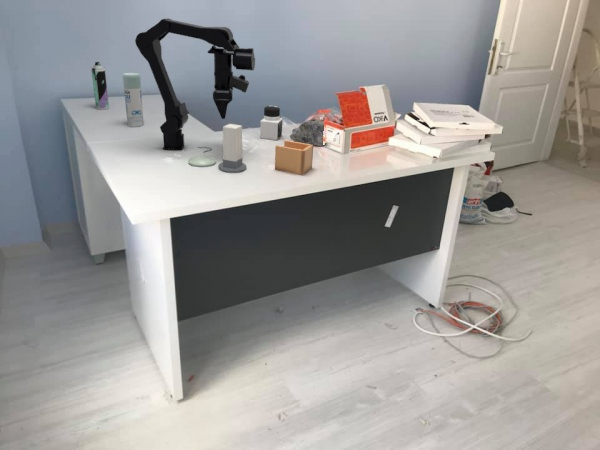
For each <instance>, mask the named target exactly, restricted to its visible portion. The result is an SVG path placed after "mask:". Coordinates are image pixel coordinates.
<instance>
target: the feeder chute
mask: <svg viewBox="0 0 600 450" xmlns="http://www.w3.org/2000/svg"><path fill="white" fill-rule="evenodd" d="M274 150H275V151H274V152H275V155H274V171H280V172H285V173H289V174H295V175H299V176H305V174H307V173H308V172H309V171H310V170H312V168H313V159H314V144H305V143H300V142H297V141H295V140H292V141H291V140H287V139H285V140H284V144H283V146H282V145H275V149H274Z"/></svg>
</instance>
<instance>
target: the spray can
mask: <svg viewBox="0 0 600 450" xmlns="http://www.w3.org/2000/svg"><path fill="white" fill-rule="evenodd" d="M90 71H91V78H92V85H93V93H94V103H95V108H96V110H100V111H101V110H103V111H104V110H109V109H110V105H109V103H110V102H109V96H108V86H107V85H108V84H107V78H106V77H107V76H106V69H105V67H104V66H102V64H101V63H100V61H95V63H94V65H93V66H92V67H91V70H90Z"/></svg>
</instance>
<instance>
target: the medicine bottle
mask: <svg viewBox="0 0 600 450" xmlns="http://www.w3.org/2000/svg"><path fill="white" fill-rule="evenodd" d="M280 114H281V108H280V107H278V106H277V105H276V106H275V105H268V106H265V107H264V108H263V118H262V119H261V120H260V128H259V129H260V130H259V131H260V134H259V137H260V139H264V140H273V141H279V139H280V138H282V135H283V118H281V117H280V116H281V115H280Z"/></svg>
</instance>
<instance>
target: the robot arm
mask: <svg viewBox="0 0 600 450" xmlns="http://www.w3.org/2000/svg"><path fill="white" fill-rule="evenodd" d="M169 33H171V34H175V35H179V36H184V37H189V38H193V39H199V40H202V41H204V42H206V43H208V44H209V45H211V48H210V49H209V50H208V51H207V54H212V55H213V63H214V64H213V66H214V68H213V71H214V72H213V75H214V76H213V77H214V90H213V91H212V99H213V100H212V101H214V104H215V106H216V108H217V111H218V113H219V116H220V119H222V120H225V119H226V116H227V110H228V105H229V103H231V102H232V101H233V90H234V89H237V90H238V91H241V92H242V93H246V92H247V91H248V87H249V84H250V81H248V80H246V76H245V75H243V74H239V76H236V75H234V71H233V69H232V67H234V68H235V69H236V70H241V71H255V66H256V58H255V51H254V48H251V47H249V48H246V47H245V48H244V47H243V48H242V47H240V46H239V45H238V44H237V41H236V40H235V39H234V35H233V32H232V30H231V29H230V28H229V27H227V26H202V25H199V24H193V23H187V22H183V21H179V20H174V19H172V18H169V17H168V18H161V20H159V22H158V23H156V24H155V25H153V26H152V27H150V28H149V29H148V30H146V31H143V32H140V33H138V34H137V35H136V37H135V40H134V42H135V45H136V47H137V49H138V51H139V52H140V54H141V56H142V57H143V58H144V59H145V60H146V61H147V62H148V63H147V64H148V65H149V68H150V70H151V72H152V75H153V78H154V80H155V83H156V85H157V88H158V91H159V94H160V96H161V98H162V101H163V103H164V117H165V121H164V122H163V123H162V124H161V126H159V129H160V132H161V133H162V137H163V147H162V150H173V151H174V150H178V151H179V150H180V151H182V150H183V147H185V135H184V133H183V129H184V128H183V127H184V126H185V124H186V123H187V122H188V120H189V114H190V112H189V111H188V109H187V105H186V102H182V103H181V102H180V100H178V98H177V95H176V92H175V90H174V87H173V84H172V82H171V79H170V76H169V74H168V71H167V69H166V66H165V64H164V61H163V58H162V57H163V56H162V55H163V54H162V44H161V41H162V40H163V39H164V38H165V37H166V36H167V35H168V34H169Z"/></svg>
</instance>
